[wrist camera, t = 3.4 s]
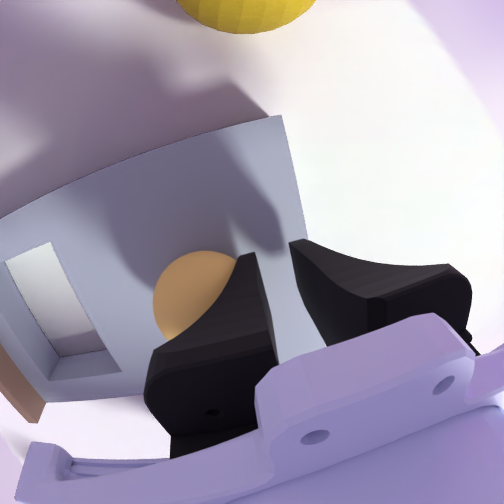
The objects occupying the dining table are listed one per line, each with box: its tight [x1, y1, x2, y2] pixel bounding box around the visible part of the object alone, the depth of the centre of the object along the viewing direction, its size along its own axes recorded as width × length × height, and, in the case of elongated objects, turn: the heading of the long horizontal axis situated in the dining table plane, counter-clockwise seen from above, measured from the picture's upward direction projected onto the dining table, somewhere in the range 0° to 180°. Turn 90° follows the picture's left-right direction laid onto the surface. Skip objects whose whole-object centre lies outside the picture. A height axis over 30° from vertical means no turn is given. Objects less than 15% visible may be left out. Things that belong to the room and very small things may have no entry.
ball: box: [153, 251, 237, 341], centre depth 11 cm, size 4×4×4 cm
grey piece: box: [0, 115, 325, 423], centre depth 13 cm, size 12×20×4 cm, turn 104°
